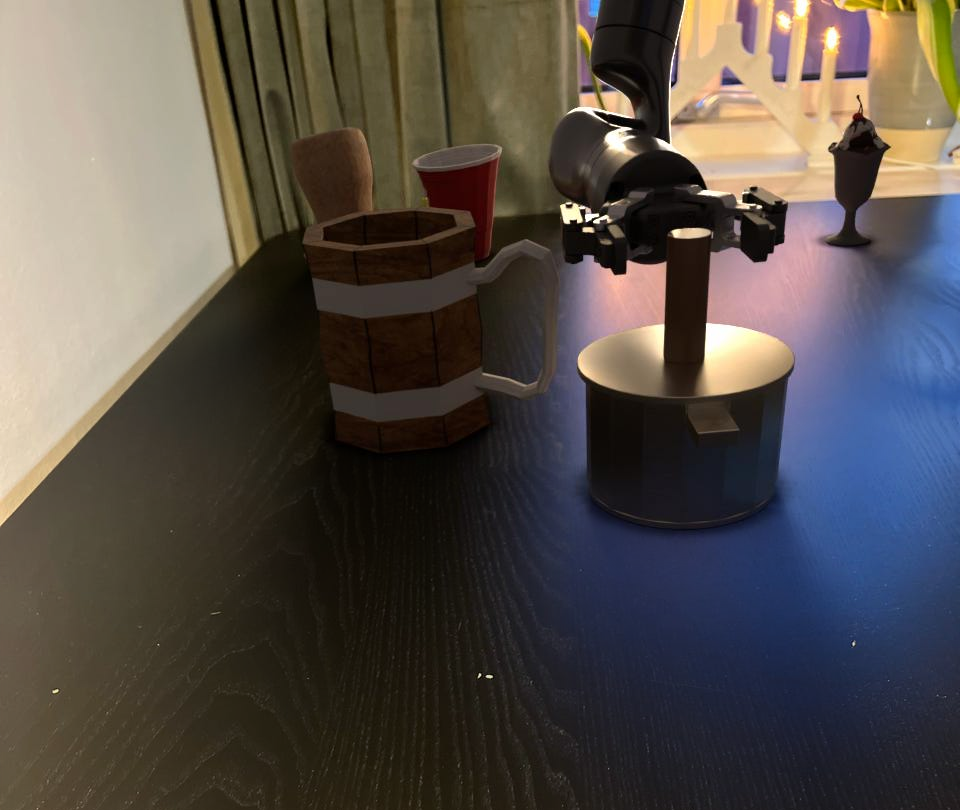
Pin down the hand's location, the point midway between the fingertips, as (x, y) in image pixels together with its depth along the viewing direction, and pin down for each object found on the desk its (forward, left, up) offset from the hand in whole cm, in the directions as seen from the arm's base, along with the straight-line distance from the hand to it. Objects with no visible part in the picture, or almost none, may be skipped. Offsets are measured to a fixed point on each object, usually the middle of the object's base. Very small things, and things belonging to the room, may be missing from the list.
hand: (692, 251), depth 59 cm
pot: (0, 0, -16) cm, 16 cm away
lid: (0, 0, -7) cm, 7 cm away
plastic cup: (+13, -67, -16) cm, 70 cm away
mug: (+16, -15, -16) cm, 27 cm away
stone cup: (+28, -72, -16) cm, 79 cm away
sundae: (-32, -59, -16) cm, 69 cm away
